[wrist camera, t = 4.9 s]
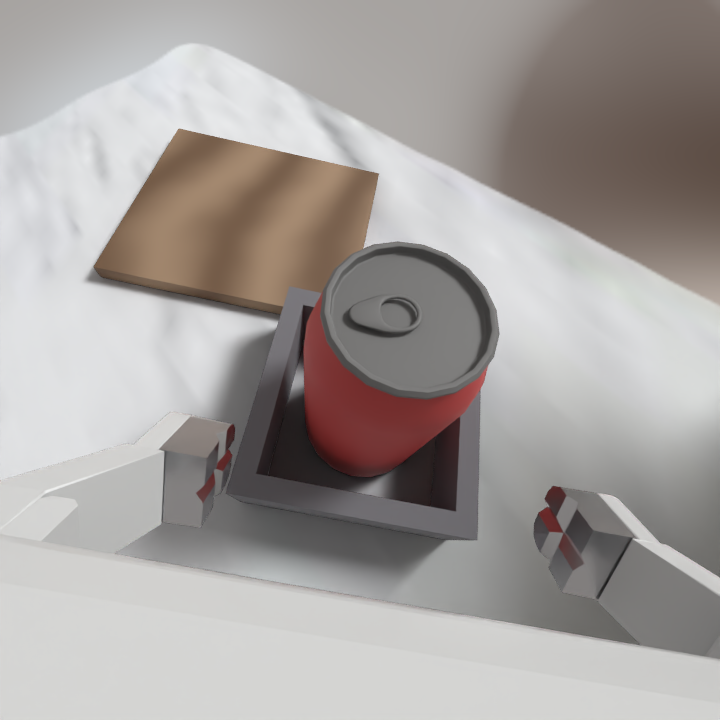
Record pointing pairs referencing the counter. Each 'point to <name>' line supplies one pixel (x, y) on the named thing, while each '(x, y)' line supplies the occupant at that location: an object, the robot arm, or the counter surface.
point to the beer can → (393, 354)
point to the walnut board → (239, 223)
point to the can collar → (253, 485)
